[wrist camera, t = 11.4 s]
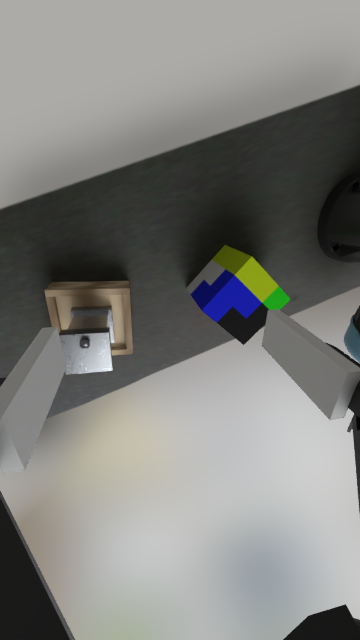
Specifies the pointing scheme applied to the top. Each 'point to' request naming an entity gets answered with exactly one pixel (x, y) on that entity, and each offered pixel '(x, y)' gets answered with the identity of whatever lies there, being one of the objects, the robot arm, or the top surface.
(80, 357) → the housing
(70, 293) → the tray
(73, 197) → the top surface
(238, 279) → the puzzle toy
